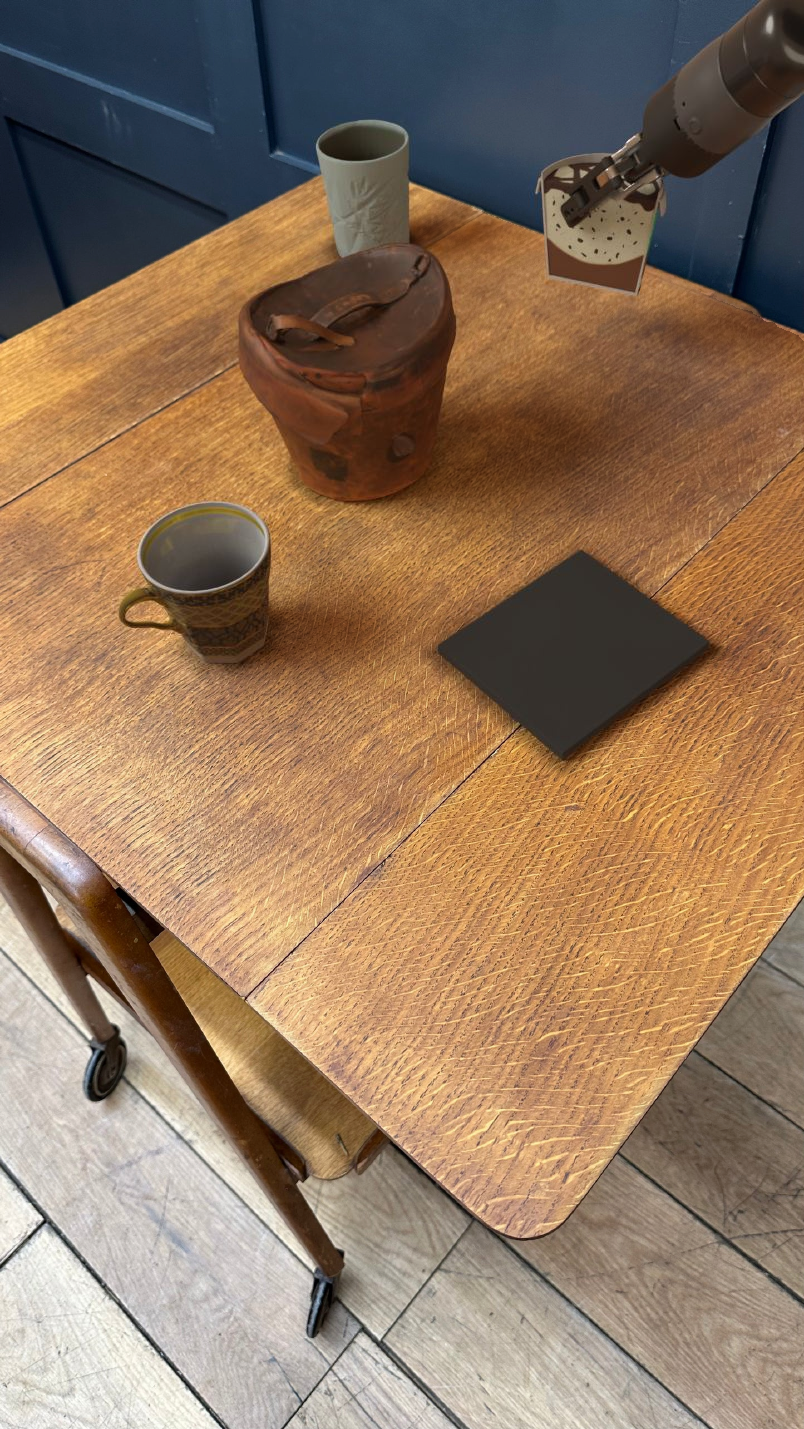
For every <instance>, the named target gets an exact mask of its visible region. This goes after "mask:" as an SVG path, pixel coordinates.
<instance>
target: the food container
mask: <svg viewBox="0 0 804 1429" xmlns="http://www.w3.org/2000/svg"><path fill="white" fill-rule="evenodd" d="M613 154H614V153H606V152H597V153H585V154H579V155H573V156H570V157H565V158H563V159H560V160H557V161H555V162H553V163H552V164H549V165H548V166H546V167H545V168H544V169H543V170H542V171H541V172H540V177H539V178H538V180H537V184H536V188H535V194H536V195H538V194H539V193H540V192H541V204H542V220H543V222H542V223H543V237H544V240H543V241H544V254H545V271H546V278H548V279H553V280H557V281H562V282H568V283H572V284H575V285H576V284H577V285H580V286H581V285H582V286H585V287H591V288H595V289H599V290H600V289H601V290H605V291H610V292H615V293H619V294H625V295H629V296H634V297H638V295H639V293H640V291H641V288H642V285H643V284H642V283H643V279H644V275H645V270H646V265H647V261H648V256H649V252H650V248H651V243H652V239H653V235H654V230H655V226H656V222H657V217H658V212H660V217H664V215H665V213H666V210H667V196H666V195H667V194H666V185H665V182H664V178H663V177H660V178H659V179H657V180H656V181H654V182H653V183H651V184H645V185H643V186H642V187H640V188H639V189H637V190H636V191H634V192H633V193H631V194H630V195H628V196H627V197H625V198H624V199H622V200H618V201H615V200H613V199H612V200H611V201H609V202H608V203H606V204H605V205H603V206H602V207H600V208H599V210H598V211H597V212H593V213H592V214H591V215H589V216H588V217H587V218H586V219H584V220H583V221H582V222H581V223H579V224H578V225H577V226H575V227H573V228H569V227H568V225H567V223H566V221H565V219H564V217H563V215H562V213H561V211H560V207H561V205H562V204H563V203H565V202H566V201H567V200H568V199H569V198H570V196H569V194H568V192H567V191H568V190H569V189H570V187H571V186H572V185H574V184H576V183H577V182H578V181H579V180H580V179H581V178H583V177H584V176H585V175H586V174H587V173H588V172H589V171H590V170H592V169H593V168H594V167H595V166H596V165H597V164H598V163H599V162H601V159H603V158H604V157H606V156H607V157H608V156H610V155H611V156H612V155H613ZM620 161H621V159H620V160H619V161H617V162H616V163H618V162H620ZM616 163H615V164H616ZM621 177H622V179H623V181H624V184H623V185H622V186H621V188H622V189H625V188H627V187H628V186H630V184H629V183H627V182H626V181H625V179H624V177H623V176H621ZM659 209H660V210H659Z"/></svg>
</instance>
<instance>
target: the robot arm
mask: <svg viewBox="0 0 804 1429" xmlns="http://www.w3.org/2000/svg"><path fill="white" fill-rule="evenodd" d="M803 95H804V0H760V1H759V2H758V3H757V4H756V5H755V6H753V7H752V9H750V10H749V11H748V12H747V13H746V14H745V15H744V16H743V17H741V19H740V20H738V21H737V22H736V23H735V24H734V25H733V26H732V27H731V28H729V29H728V30H727V31H725V32H724V33H722V34H721V35H720V36H718V37H716V38H715V39H714V40H712V41H710V43H708V44H707V45H705V47H703V48H702V49H701V50H700V51H698V53H697V54H695V56H694V57H692V58H691V59H690V60H689V61H688V62H687V63H686V64H685V65H684V66H683V67H681V68H680V69H679V70H678V71H677V72H676V73H674V75H673V76H672V77H670V79H668V80H667V81H666V82H665V83H664V84H663V85H661V86H660V88H658V90H656V91H655V92H654V93H653V94H652V95H651V97H650V98H649V100H648V101H647V103H646V106H645V108H644V112H643V117H642V130H641V131H639V132H638V133H635V135H633V136H632V137H630V138H629V139H627V141H626V142H625V144H624V146H623V147H622V148H620V149H619V150H617V151H616V152H614V153H612V154H613V155H612V156H611V155H610V156H608V157H607V156H606V157H604V158H603V159H601V162H599V163H598V164H597V165H596V166H595V167H594V168H593V169H592V170H590V171H589V172H588V173H587V174H586V175H585V176H584V177H583V178H581V179H580V180H579V181H578V182H577V183H576V184H574V185H572V186H571V187H570V189H569V190H568V191H567V192H568V194H569V196H570V198H569V199H568V200H567V201H566V202H565V203H563V204H562V205H561V207H560V211H561V213H562V215H563V217H564V219H565V221H566V223H567V225H568V227H569V228H573V227H575V226H577V225H578V224H579V223H581V222H582V221H583V220H584V219H586V218H587V217H588V216H589V215H591V214H592V213H593V212H597V211H598V210H599V208H600V207H602V206H603V205H605V204H606V203H608V202H609V201H611V200H612V199H613V200H615V201H618V200H622V199H624V198H625V197H627V196H628V195H630V194H631V193H633V192H634V191H636V190H637V189H639V188H640V187H642V186H643V185H645V184H651V183H653V182H654V181H656V180H657V179H659V178H660V177H662V178H663V179H664V178H666V177H668V176H670V175H672V176H674V177H677V178H682V179H694V178H697V177H700V176H702V175H704V174H705V173H706V172H707V171H709V170H710V169H711V168H713V167H714V166H715V165H717V164H718V163H719V162H721V161H722V160H723V159H725V158H726V157H727V156H729V155H730V154H731V153H733V152H734V151H735V150H737V149H738V148H740V147H741V146H742V145H743V144H745V143H746V142H747V141H749V140H750V139H751V138H753V137H754V136H755V135H757V134H759V132H761V130H763V129H764V128H765V127H766V126H767V125H768V123H770V122H771V120H772V119H774V118H775V117H776V116H777V115H778V114H779V113H780V112H782V111H784V109H786V108H787V107H788V106H790V105H791V104H793V103H794V102H795V101H796V100H798V99H799V98H800V97H802V96H803ZM620 159H621V161H620V162H618V163H616V162H617V161H619V160H620ZM615 163H616V164H615ZM621 176H623V177H624V179H625V181H626V182H627V183H629V184H630V186H628V187H627V188H625V189H622V188H621V186H622V185H623V184H624V181H623V179H622V177H621Z"/></svg>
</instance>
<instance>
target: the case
mask: <svg viewBox="0 0 804 1429" xmlns="http://www.w3.org/2000/svg"><path fill="white" fill-rule="evenodd" d="M451 290H452V289H451V285H450V281H449V279H448V276H447V273H446V271H445V269H444V267H443V265H442V263H441V261H440V260H439V259H438V257H437V256H435V255H434V253H432V252H431V251H430V250H428V249H427V248H425V247H423V246H420V245H418V244H414V243H410V242H409V243H389V244H384V245H380V246H378V247H375V248H371V249H368V250H364V251H359V252H357V253H354V254H351V255H348V256H345V257H343V258H342V257H340V258H338V259H335V260H334V261H332V262H331V263H328V264H326V265H323V266H321V267H317V268H315V269H313V270H310V271H308V272H307V273H305V274H304V275H302V276H300V277H297V278H294V279H291V280H287V281H284V282H280V283H278V284H275V285H273V286H270V287H268V288H266V289H264V290H262V291H260V292H258V293H257V294H254V296H252V297H251V298H249V299H248V300H247V301H246V302H245V303H244V304H243V305H242V307H241V309H240V310H239V314H238V320H237V321H238V323H237V324H238V325H237V326H238V348H237V349H238V350H237V354H238V355H237V358H238V365H239V369H240V371H241V373H242V375H243V378H244V380H245V381H246V382H247V384H248V386H249V388H250V390H251V391H252V393H253V394H254V396H255V397H256V399H257V401H258V402H259V403H260V404H261V405H262V406H263V407H264V408H265V410H266V411H267V412H268V413H269V414H270V415H271V417H272V419H273V422H274V424H275V425H276V426H275V427H276V428H277V430H278V431H279V435H280V436H281V438H282V441H283V442H284V445H285V448H286V449H287V452H288V454H289V456H290V458H291V461H292V462H293V464H294V466H295V468H296V472H297V475H298V477H299V479H300V481H301V482H302V483H303V485H304V486H306V487H307V488H308V489H310V490H311V491H313V492H315V493H318V494H319V495H322V496H324V497H326V498H329V499H333V500H337V501H347V502H353V501H354V502H355V501H356V502H357V501H368V500H375V499H379V498H383V497H386V496H390V495H392V494H396V493H397V492H400V491H401V490H403V489H405V488H407V487H408V486H410V485H412V484H413V483H415V482H416V481H418V479H420V478H421V476H422V475H424V473H425V472H426V471H427V470H428V469H429V467H430V465H431V463H432V460H433V456H434V450H435V444H436V438H437V434H438V428H439V427H438V426H439V421H440V416H441V410H442V404H443V398H444V392H445V385H446V380H447V372H448V364H449V361H450V358H451V355H452V351H453V347H454V346H455V345H454V344H455V342H456V337H457V315H456V314H455V309H454V304H453V296H452V291H451Z"/></svg>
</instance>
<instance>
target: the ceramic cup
mask: <svg viewBox="0 0 804 1429" xmlns="http://www.w3.org/2000/svg"><path fill="white" fill-rule="evenodd" d="M136 561H137V566H138V569H139V571H140V573H141V574H142V576H143V578H144V580H145V582H146V583H147V587H140V588H135V589H134V590H131V591H130V592H128V593H127V594H126V595H125V596H124V597H123V598H122V599H121V601H120V603H119V606H118V618H119V621H120V622H121V623H122V624H123V626H126V627H128V628H132V629H156V630H161V631H173V632H175V633H177V634H179V635H181V637H182V638H183V640H184V642H185V644H186V645H187V646H188V647H189V648H190V650H192V651H193V653H195V655H197V656H198V657H199V658H200V659H201V660H202V661H203V662H204V663H209V664H238V663H240V662H241V661H244V660H245V659H246V658H248V657H249V656H251V655H252V654H254V653H255V652H257V651H258V650H260V649H261V648H262V647H264V645H265V642H266V637H267V632H268V627H269V621H270V617H269V616H270V606H269V605H270V604H269V602H270V577H271V567H272V542H271V534H270V530H269V528H268V526H267V524H266V522H265V521H264V520H263V519H262V517H261V516H260V515H259V514H258V513H256V512H255V511H254V510H252V509H250V508H248V507H246V506H243V505H241V504H237V503H234V502H230V501H229V502H228V501H221V500H218V501H216V500H214V501H213V500H212V501H211V500H210V501H201V502H200V501H199V502H196V503H190V504H187V505H184V506H181V507H178V508H177V509H174V510H172V511H170V512H168V513H166V514H165V515H163V516H161V517H160V518H159V519H157V520H156V521H155V522H154V523H153V524H152V525H150V526H149V527H148V529H146V531H145V533H144V534H143V535H142V537H141V539H140V541H139V544H138V546H137V552H136ZM143 602H155V603H156V604H158V605H160V606H162V607H163V608H164V610H165V611H166V613H167V615H168V616H169V619H168V621H166V622H162V623H161V622H156V621H151V620H149V621H148V620H147V621H145V620H144V621H143V620H142V621H141V620H140V621H139V620H138V621H130V620H127V618H126V615H127V613H128V611H129V610H130V609H131V608H132V607H134V606H135V605H138V604H139V603H143Z"/></svg>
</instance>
